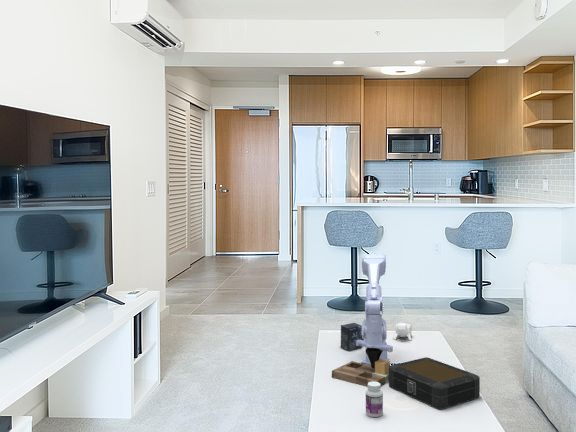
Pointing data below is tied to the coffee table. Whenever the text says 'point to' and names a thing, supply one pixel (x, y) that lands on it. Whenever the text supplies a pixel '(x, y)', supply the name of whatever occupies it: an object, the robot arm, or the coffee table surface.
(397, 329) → the white rounded figure
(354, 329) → the box
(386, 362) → the block
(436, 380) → the cash box
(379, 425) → the coffee table surface
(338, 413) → the coffee table surface
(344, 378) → the trap board
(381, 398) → the pill bottle
